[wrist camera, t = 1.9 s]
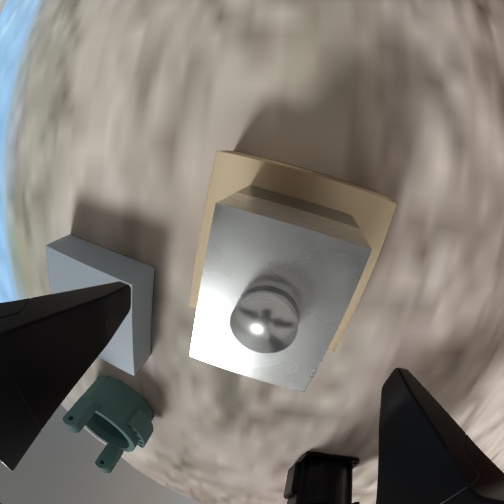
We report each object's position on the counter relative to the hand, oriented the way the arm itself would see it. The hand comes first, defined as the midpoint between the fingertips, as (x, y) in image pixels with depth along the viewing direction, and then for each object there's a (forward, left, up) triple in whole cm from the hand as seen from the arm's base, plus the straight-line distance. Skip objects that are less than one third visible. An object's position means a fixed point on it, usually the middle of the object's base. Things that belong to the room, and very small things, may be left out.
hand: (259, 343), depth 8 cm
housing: (0, 0, -7) cm, 7 cm away
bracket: (+12, +24, -10) cm, 28 cm away
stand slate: (+13, +9, -10) cm, 18 cm away
